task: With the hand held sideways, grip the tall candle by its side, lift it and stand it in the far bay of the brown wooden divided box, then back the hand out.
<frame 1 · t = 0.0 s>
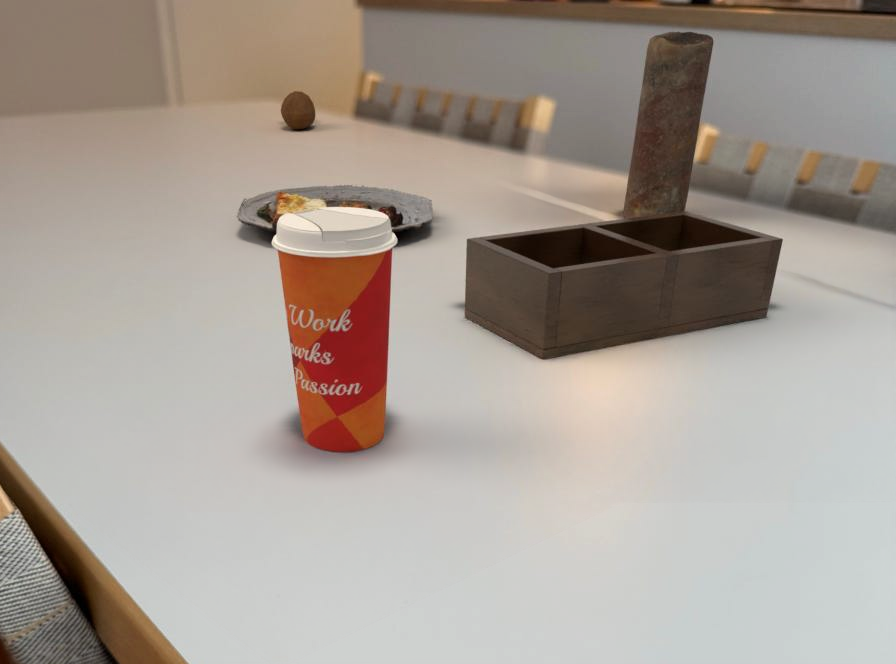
candle: (652, 226, 118), on the table
paper cup: (344, 438, 66), on the table
brown wooden divided box: (615, 317, 88), on the table
food plate: (337, 228, 117), on the table
potato: (299, 129, 185), on the table
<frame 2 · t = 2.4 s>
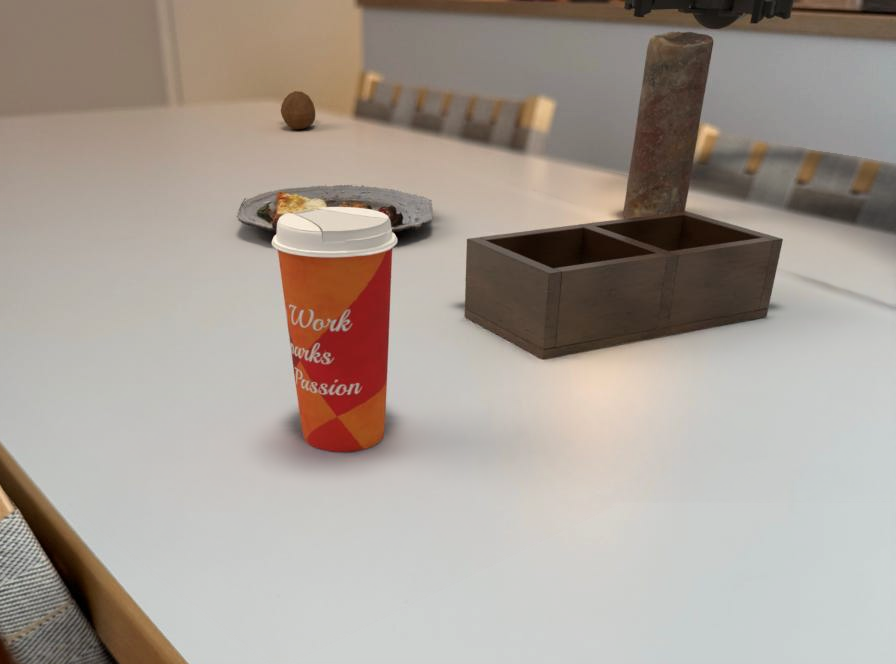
hand: (696, 6, 112), 22 cm above the table, tool horizontal, fingers open, 13 cm apart
nothing on the table moved.
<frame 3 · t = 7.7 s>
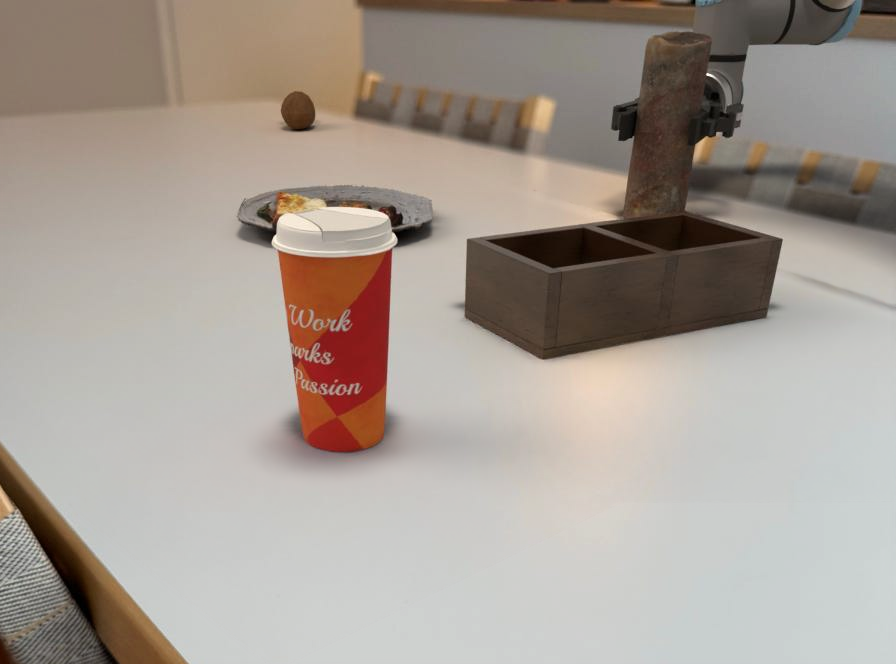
hand: (657, 129, 108), 11 cm above the table, tool horizontal, fingers closed on candle, 7 cm apart
candle: (652, 226, 118), on the table, touching gripper
everything else where it was.
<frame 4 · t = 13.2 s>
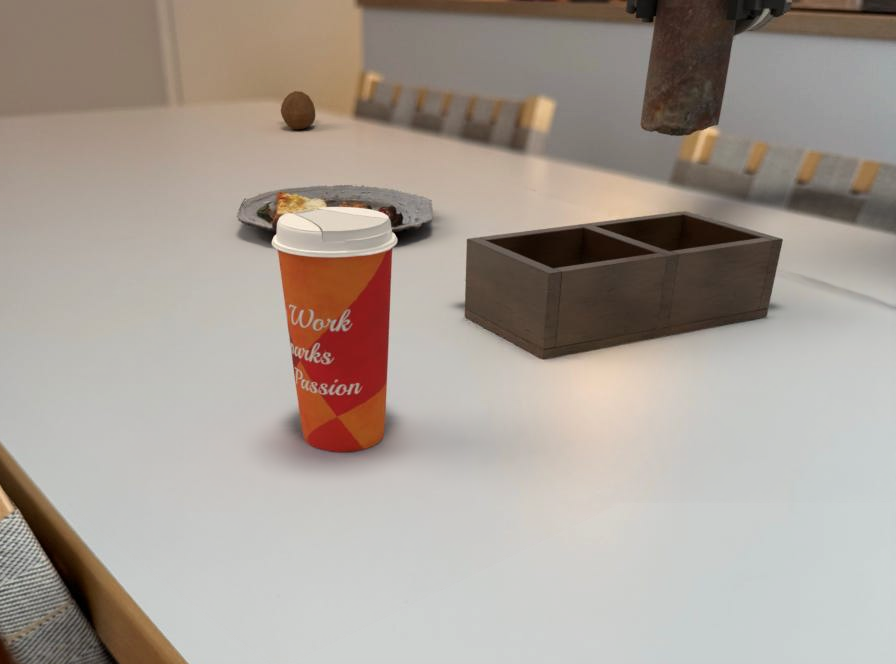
hand: (687, 0, 83), 24 cm above the table, tool horizontal, fingers closed on candle, 7 cm apart
candle: (678, 137, 93), point 13 cm above the table, touching gripper
everything else where it was.
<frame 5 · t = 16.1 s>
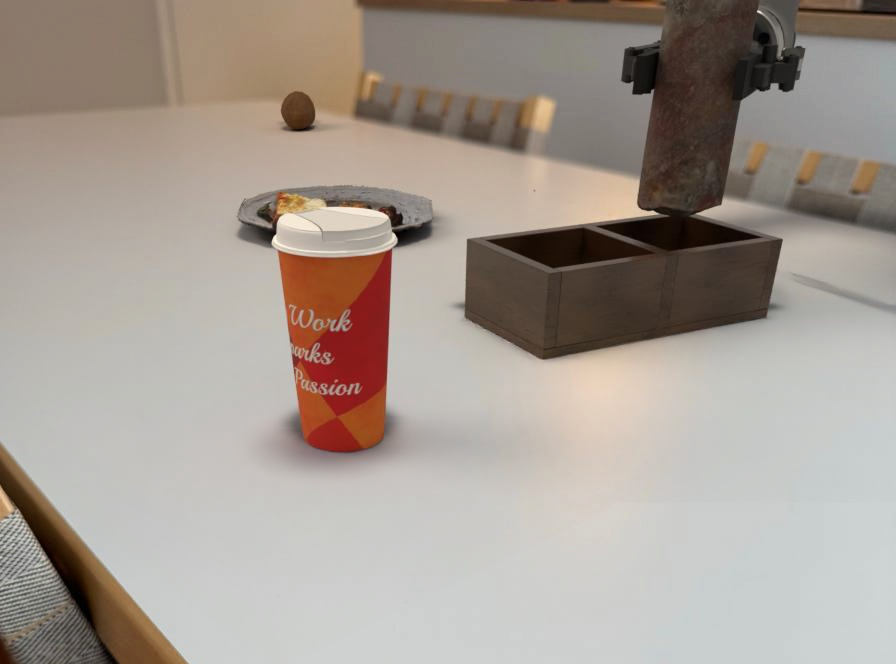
hand: (688, 77, 75), 19 cm above the table, tool horizontal, fingers closed on candle, 7 cm apart
candle: (678, 217, 85), point 8 cm above the table, touching gripper
everything else where it was.
when the fingers open (12 cm above the table, at t = 18.5 s): candle stays where it is, resting on brown wooden divided box.
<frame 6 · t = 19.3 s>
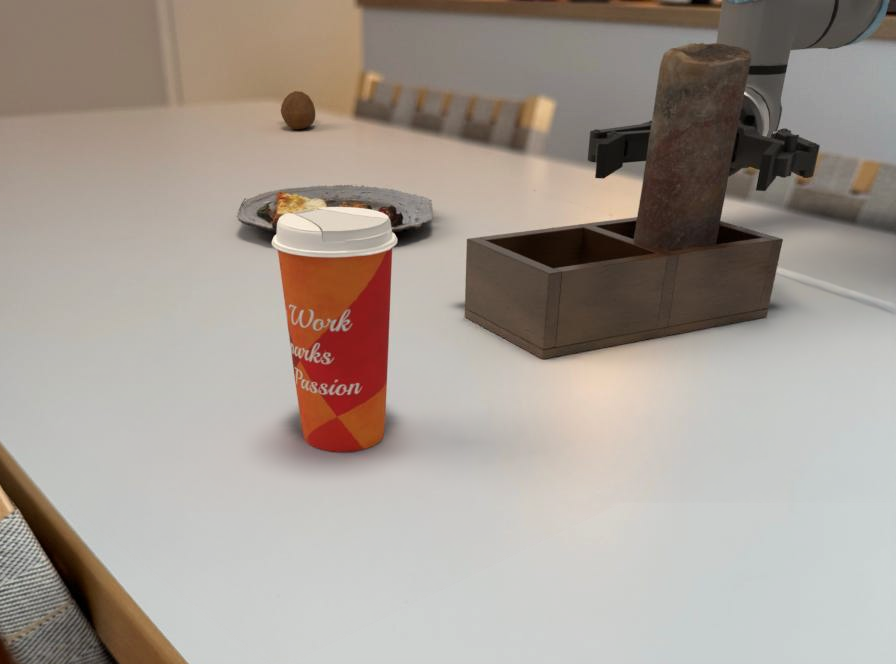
hand: (679, 166, 80), 13 cm above the table, tool horizontal, fingers open, 13 cm apart
candle: (666, 299, 90), point 1 cm above the table, touching brown wooden divided box
everything else where it was.
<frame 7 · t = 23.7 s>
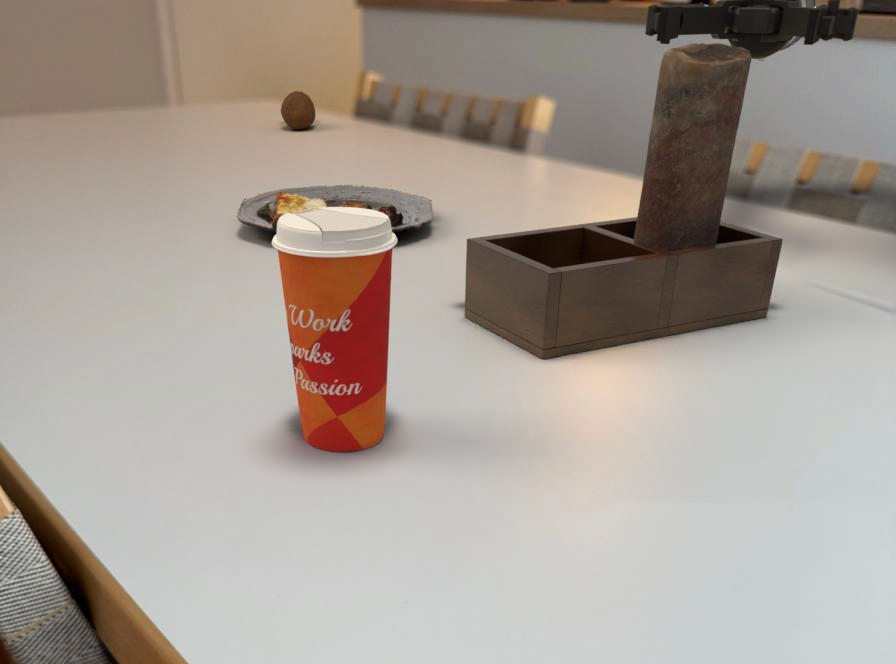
hand: (734, 25, 90), 22 cm above the table, tool horizontal, fingers open, 13 cm apart
nothing on the table moved.
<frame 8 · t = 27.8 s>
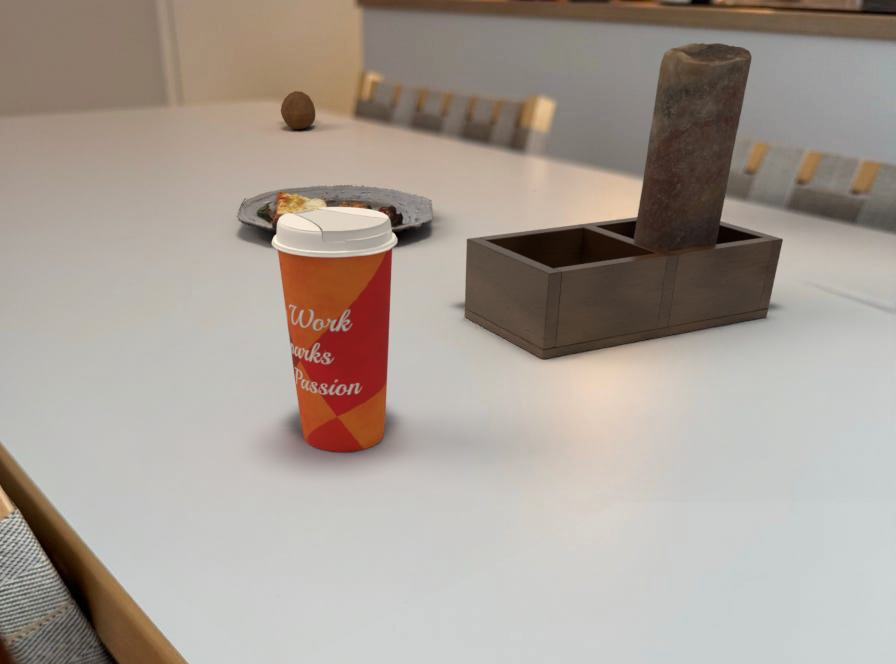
nothing on the table moved.
at the end: candle 0.2 cm from the target spot in the brown wooden divided box, point 0.8 cm above the brown wooden divided box's base; candle tilted 0°; the gripper is holding nothing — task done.
